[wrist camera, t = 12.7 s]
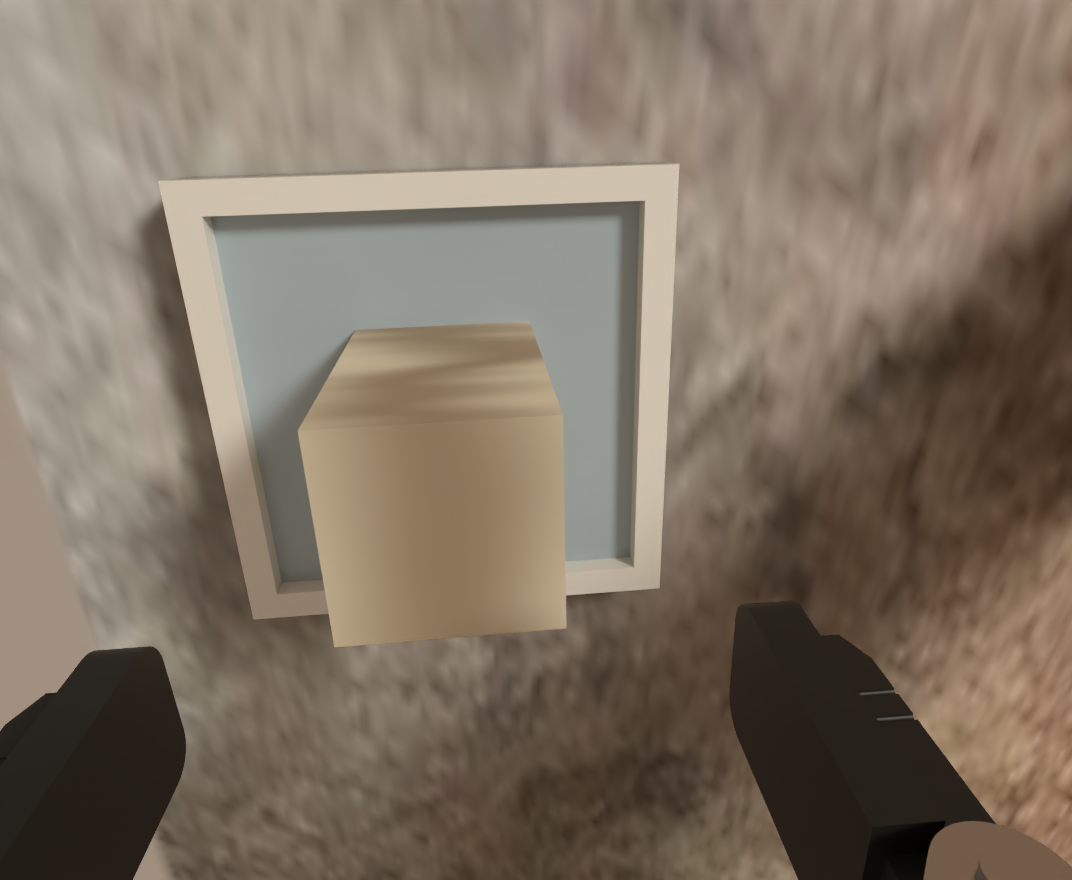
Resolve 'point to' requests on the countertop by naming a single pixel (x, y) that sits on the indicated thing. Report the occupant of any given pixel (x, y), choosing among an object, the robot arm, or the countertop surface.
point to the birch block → (438, 485)
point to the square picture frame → (433, 300)
